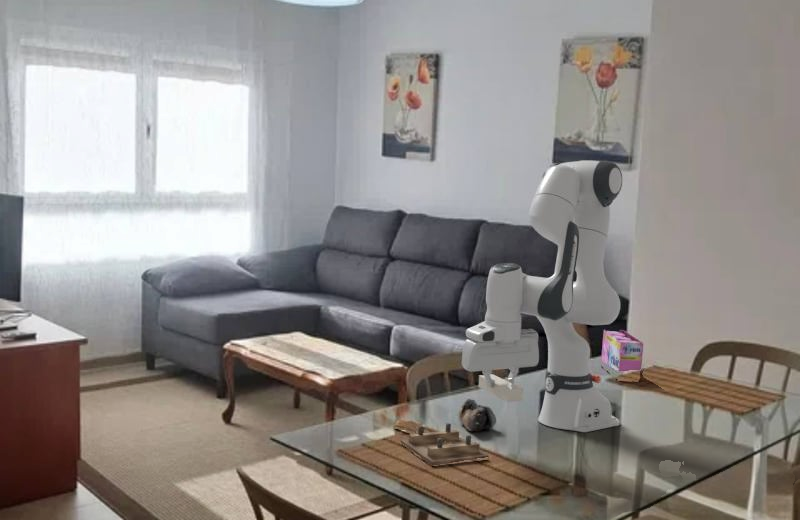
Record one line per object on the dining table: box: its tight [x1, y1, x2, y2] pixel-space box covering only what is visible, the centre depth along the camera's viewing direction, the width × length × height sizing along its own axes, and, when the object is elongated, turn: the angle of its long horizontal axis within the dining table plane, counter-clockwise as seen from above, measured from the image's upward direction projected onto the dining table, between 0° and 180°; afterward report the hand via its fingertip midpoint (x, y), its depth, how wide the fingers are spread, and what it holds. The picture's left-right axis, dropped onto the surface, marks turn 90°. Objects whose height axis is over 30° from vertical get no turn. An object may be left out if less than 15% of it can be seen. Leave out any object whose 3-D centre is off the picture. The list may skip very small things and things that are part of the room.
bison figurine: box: [457, 398, 497, 432], centre depth 230 cm, size 12×7×10 cm
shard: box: [392, 419, 423, 433], centre depth 226 cm, size 11×8×2 cm
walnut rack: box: [399, 422, 489, 467], centre depth 210 cm, size 15×17×5 cm
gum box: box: [601, 328, 644, 371], centre depth 302 cm, size 24×8×14 cm, turn 2°
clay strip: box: [478, 373, 524, 403], centre depth 214 cm, size 4×14×3 cm, turn 24°
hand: (499, 386), depth 214 cm, fingers closed on clay strip, 4 cm apart
